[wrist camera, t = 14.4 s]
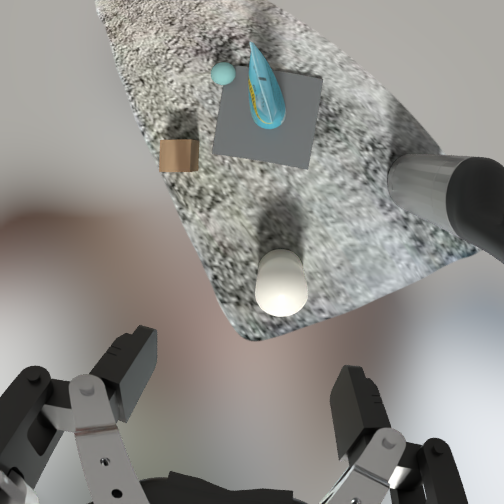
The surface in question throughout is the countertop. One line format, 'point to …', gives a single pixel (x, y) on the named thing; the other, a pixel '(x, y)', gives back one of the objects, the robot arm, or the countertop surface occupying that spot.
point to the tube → (264, 92)
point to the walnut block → (179, 155)
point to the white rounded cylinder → (281, 283)
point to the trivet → (269, 140)
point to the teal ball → (223, 73)
